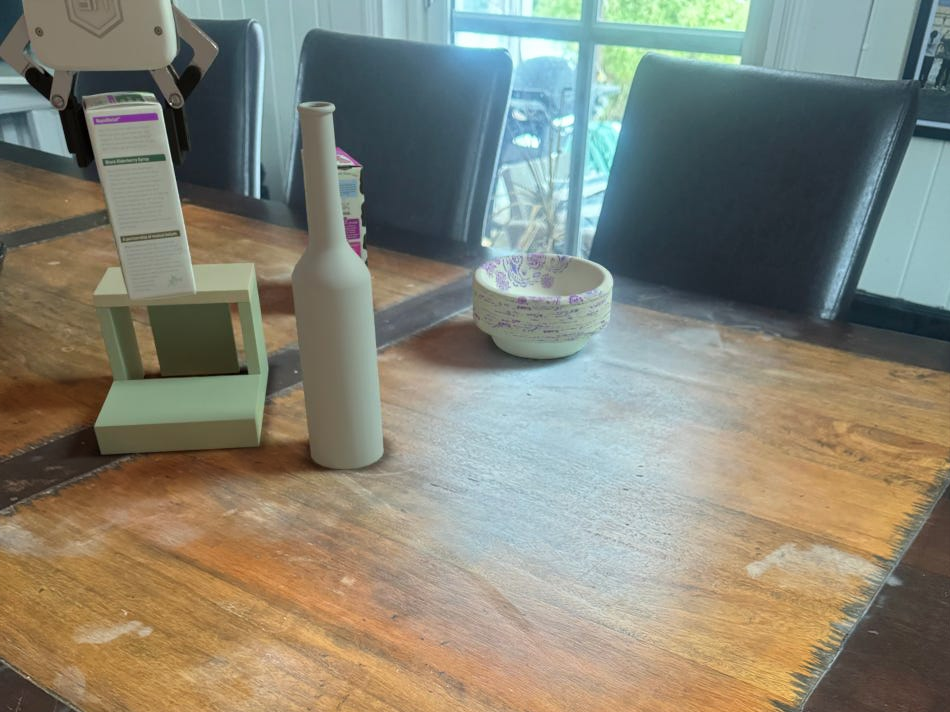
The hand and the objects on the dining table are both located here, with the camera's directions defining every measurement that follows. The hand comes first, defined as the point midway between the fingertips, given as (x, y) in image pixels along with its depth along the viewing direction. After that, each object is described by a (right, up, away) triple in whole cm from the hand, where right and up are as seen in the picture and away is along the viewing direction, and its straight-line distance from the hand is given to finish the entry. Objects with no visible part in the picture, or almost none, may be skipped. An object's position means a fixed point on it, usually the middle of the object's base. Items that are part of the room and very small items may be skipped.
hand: (133, 160), depth 75 cm
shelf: (-1, -16, +17) cm, 23 cm away
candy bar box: (+11, +4, +42) cm, 44 cm away
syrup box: (0, -8, +6) cm, 10 cm away
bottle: (+16, -22, +11) cm, 29 cm away
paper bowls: (+35, -5, +31) cm, 47 cm away
